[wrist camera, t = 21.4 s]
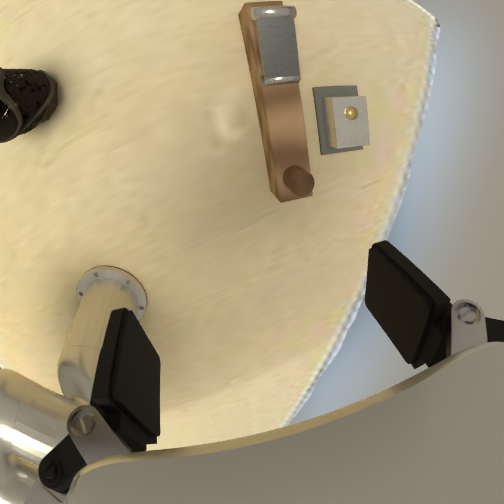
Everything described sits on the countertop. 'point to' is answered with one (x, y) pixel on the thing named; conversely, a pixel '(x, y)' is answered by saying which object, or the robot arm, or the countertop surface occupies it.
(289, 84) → the plane body
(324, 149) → the mat
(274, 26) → the lever
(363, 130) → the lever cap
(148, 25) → the countertop surface
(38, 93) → the lantern
